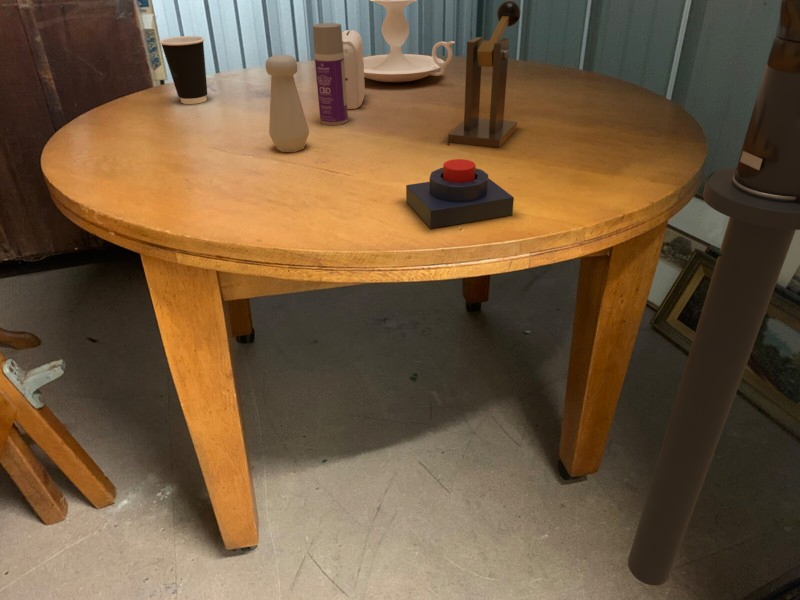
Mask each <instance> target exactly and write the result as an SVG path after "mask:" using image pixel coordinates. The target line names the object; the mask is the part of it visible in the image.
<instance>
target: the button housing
mask: <svg viewBox="0 0 800 600" xmlns="http://www.w3.org/2000/svg"><path fill="white" fill-rule="evenodd" d="M405 190H406V191H405V192H406V193H405V194H406V195H405V197H406V203H407V204H408V205H409V207H410V208H411V209H412V210H413V211H414V213H416V214H417V216H419V218H420V219H421V220H422V221H423V222H424V224H426V225H427V227H428V228H429V229H430V230H431V229H432V230H433V229H439V228H444V227H449V226H455V225H461V224H467V223H473V222H479V221H485V220H491V219H497V218H502V217H509V216H513V211H514V202H515V197H514V196H513V195H512V194H510V193H509V192H508V191H506V190H505V189H504V188H503V187H501V186H500V185H498V184H497V183H496V182H495V181H494V180H492V179H491V178H489V173H487V172H485V171H484V170H483V169H481V168H477V167H476V168H475V180H473V181H471V182H464V183H453V182H449V181H446V180H443V167H440V168H437V169H435V170H432V171H431V173H430V175H429V181H424V182H419V183H417V182H416V183H412V184H411V183H410V184H406V185H405Z"/></svg>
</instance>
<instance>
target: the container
mask: <svg viewBox="0 0 800 600" xmlns="http://www.w3.org/2000/svg"><path fill="white" fill-rule="evenodd" d="M342 32H343V31H342V24H341V23H335V22H323V23H316V24H313V25H312V36H313V37H312V38H313V52H314V64H315V75H316V78H315V79H316V87H317V99H318V100H317V101H318V108H319V109H318V110H319V120H320V123H321V124H322V125H326V126H340V125H345V124H347V123H348V122H349V113H348V109H347V96H346V80H345V65H344V52H343V41H342Z"/></svg>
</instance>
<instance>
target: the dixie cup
mask: <svg viewBox="0 0 800 600" xmlns="http://www.w3.org/2000/svg"><path fill="white" fill-rule="evenodd" d="M204 41H205V37H203V36H198V35H197V36H196V35H183V36H181V35H180V36H174V37H166V38H163V39H160V40H159V42H158V43H159V44H160V45H161V48H162V50H163V53H164V54H163V55H164V56H165V60H166V63H167V66H168V69H169V72H170V75H171V79H172V81H173V84H174V88H175V90H176V94H177V97H178V98H179V99H180V103H181V104H185V105H195V104H202V103H205V102H206V101H207V100H208V99H207V98H208V97H207V95H208V83H207V82H208V81H207V69H206V58H205V46H204Z"/></svg>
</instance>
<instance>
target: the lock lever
mask: <svg viewBox="0 0 800 600" xmlns="http://www.w3.org/2000/svg"><path fill="white" fill-rule="evenodd" d="M520 17H521V8H520V6H519V5H518V3H517V2H516V1H513V0H505V1H504V2H502V3H501V4H500V5H499V7H498V8H497V12H496V18H497V21H498V24H497V25H496V27H495V29H494V31H493V32H492V34H491V37H490V38H489V40H486V39H483V41H482V43H481V45H480V46H479V48H478V50H477V57H478V66H481V67H488V68H493V56H494V43H496V42H498V41H499V40H501V39H502V37H503V35H504V33H505V31H506V30H507V27H512V26H514V25H515V24H517V23H518V22H519V21H520Z"/></svg>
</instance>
